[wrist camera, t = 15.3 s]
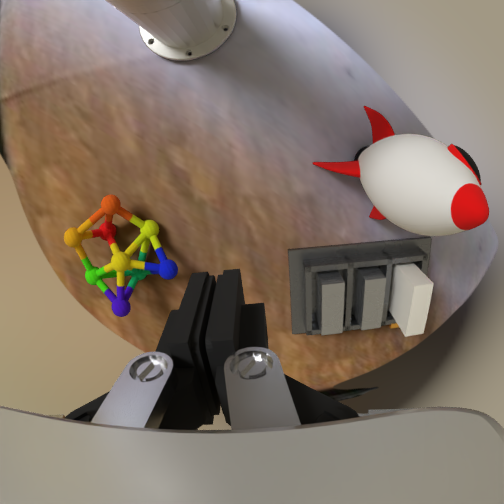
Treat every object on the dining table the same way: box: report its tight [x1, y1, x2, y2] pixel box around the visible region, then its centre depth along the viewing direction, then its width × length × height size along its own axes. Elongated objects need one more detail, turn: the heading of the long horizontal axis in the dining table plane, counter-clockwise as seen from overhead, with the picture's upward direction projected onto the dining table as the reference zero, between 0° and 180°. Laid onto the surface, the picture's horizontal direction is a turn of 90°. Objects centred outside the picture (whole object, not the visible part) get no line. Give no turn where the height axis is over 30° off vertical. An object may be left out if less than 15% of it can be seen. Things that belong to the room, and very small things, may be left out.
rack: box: [288, 237, 431, 335], centre depth 44 cm, size 14×22×6 cm, turn 95°
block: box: [388, 262, 434, 337], centre depth 42 cm, size 8×3×8 cm, turn 5°
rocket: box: [313, 106, 489, 236], centre depth 29 cm, size 11×11×25 cm
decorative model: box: [64, 195, 178, 317], centre depth 42 cm, size 13×9×15 cm
